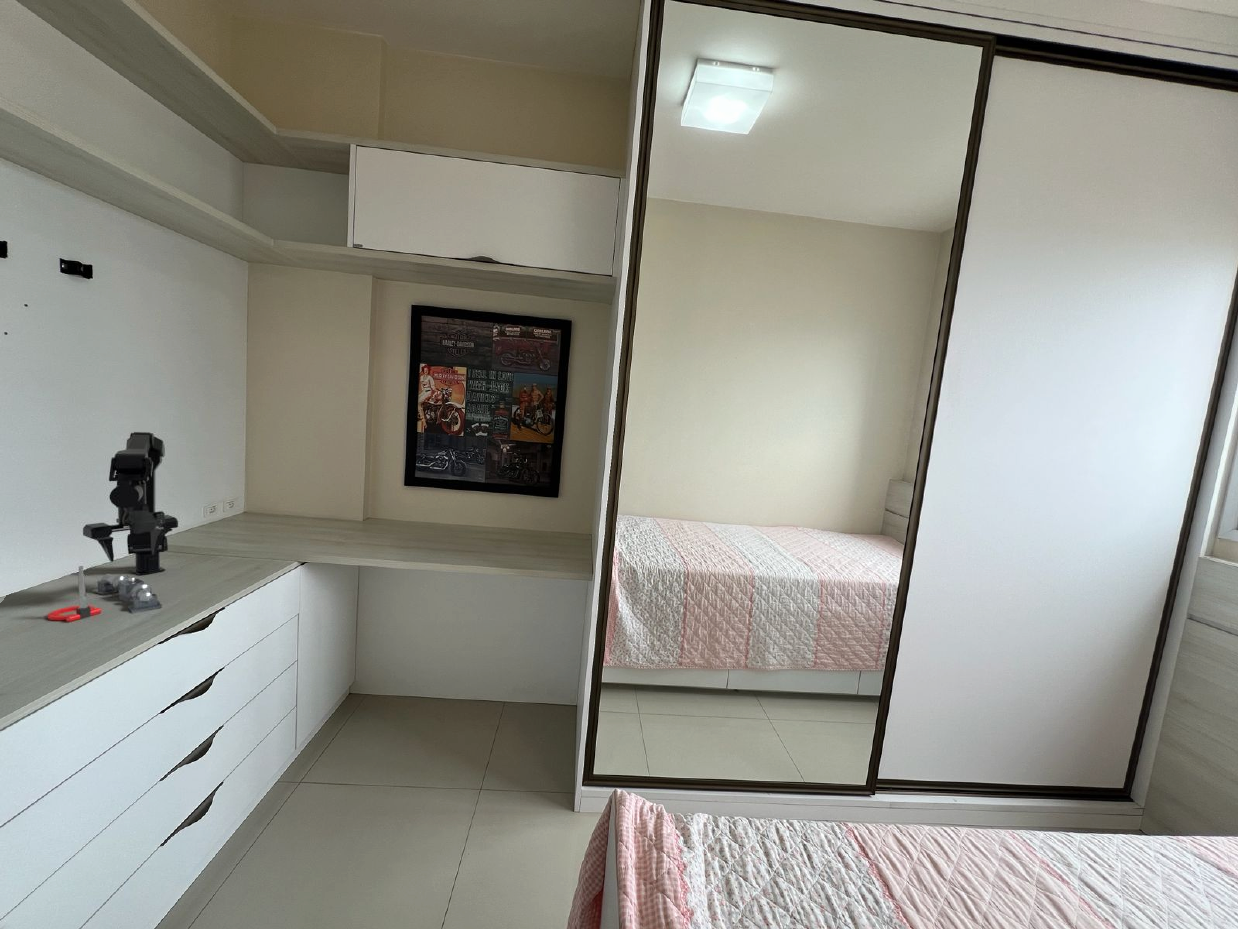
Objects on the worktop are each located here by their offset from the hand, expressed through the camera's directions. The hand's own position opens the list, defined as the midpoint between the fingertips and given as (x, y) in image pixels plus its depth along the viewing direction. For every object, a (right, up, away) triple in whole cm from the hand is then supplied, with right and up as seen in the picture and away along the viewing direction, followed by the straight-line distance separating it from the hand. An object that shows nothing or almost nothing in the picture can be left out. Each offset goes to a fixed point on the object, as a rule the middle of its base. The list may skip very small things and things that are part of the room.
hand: (133, 557), depth 153 cm
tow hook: (-5, -12, -12) cm, 18 cm away
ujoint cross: (-1, -11, +1) cm, 11 cm away
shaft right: (+6, -12, -4) cm, 14 cm away
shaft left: (-8, -10, +4) cm, 14 cm away
